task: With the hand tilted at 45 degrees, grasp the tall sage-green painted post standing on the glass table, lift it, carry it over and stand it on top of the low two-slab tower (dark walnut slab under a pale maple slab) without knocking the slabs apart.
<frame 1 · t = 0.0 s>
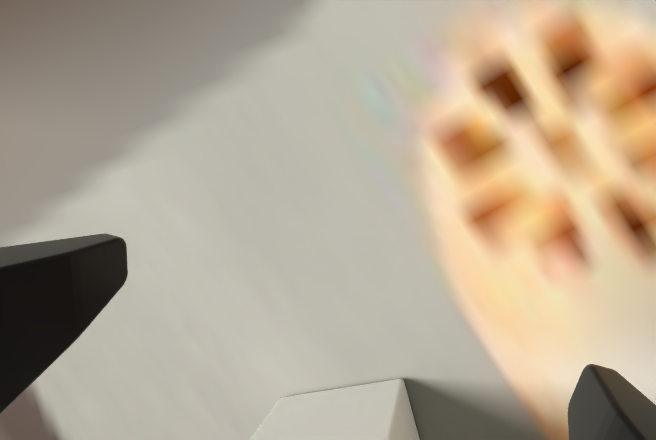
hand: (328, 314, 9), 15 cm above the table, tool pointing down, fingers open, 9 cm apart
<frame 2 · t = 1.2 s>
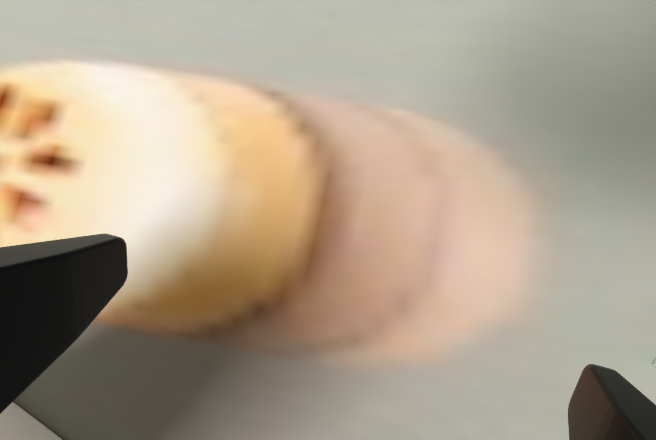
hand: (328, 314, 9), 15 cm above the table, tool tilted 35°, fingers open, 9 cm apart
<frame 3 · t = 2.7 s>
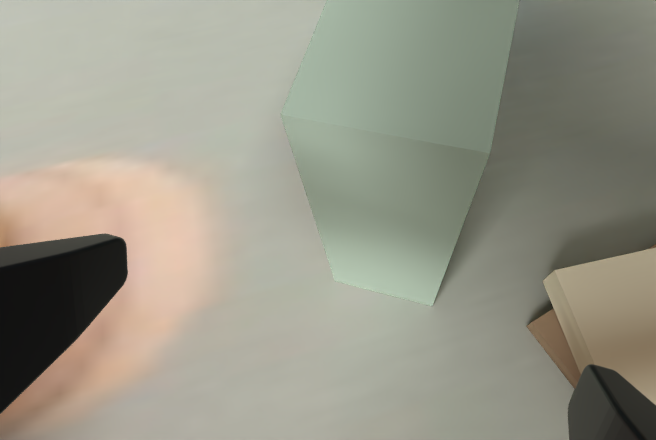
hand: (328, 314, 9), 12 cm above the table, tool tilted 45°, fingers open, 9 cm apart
post: (394, 248, 22), on the table
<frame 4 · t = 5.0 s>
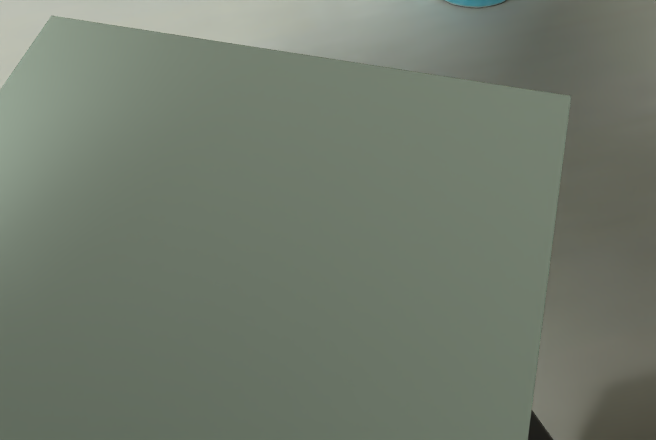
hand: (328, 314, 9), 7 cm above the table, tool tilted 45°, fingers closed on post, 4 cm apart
post: (338, 405, 14), on the table, touching gripper
when the fingers open (10 cm above the table, at t = 8.1 s): post drops 2 cm, point 2 cm above the table.
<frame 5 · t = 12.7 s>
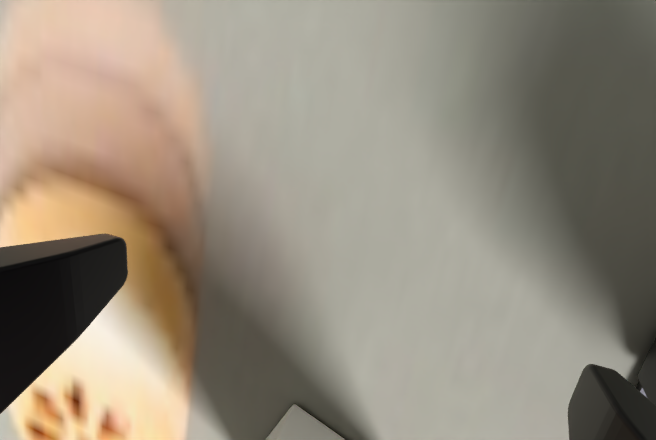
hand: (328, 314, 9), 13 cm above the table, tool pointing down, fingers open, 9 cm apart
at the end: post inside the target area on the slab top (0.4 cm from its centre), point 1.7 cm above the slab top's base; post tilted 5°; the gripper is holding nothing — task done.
